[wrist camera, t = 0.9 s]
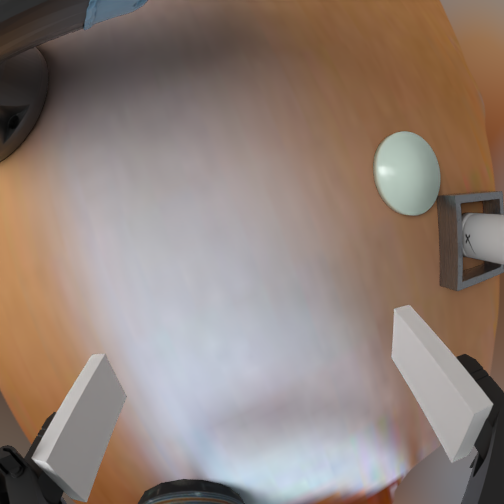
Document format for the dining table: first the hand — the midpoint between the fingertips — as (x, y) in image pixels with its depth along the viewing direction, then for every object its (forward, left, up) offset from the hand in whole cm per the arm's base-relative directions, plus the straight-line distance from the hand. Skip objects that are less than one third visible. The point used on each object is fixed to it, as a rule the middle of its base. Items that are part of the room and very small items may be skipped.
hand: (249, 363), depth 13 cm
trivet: (-8, +24, -18) cm, 31 cm away
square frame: (+1, +35, -18) cm, 40 cm away
